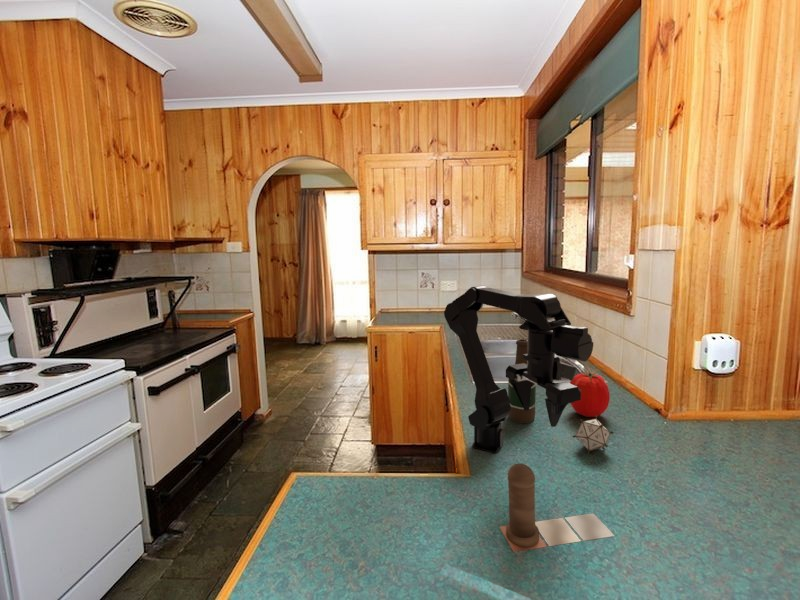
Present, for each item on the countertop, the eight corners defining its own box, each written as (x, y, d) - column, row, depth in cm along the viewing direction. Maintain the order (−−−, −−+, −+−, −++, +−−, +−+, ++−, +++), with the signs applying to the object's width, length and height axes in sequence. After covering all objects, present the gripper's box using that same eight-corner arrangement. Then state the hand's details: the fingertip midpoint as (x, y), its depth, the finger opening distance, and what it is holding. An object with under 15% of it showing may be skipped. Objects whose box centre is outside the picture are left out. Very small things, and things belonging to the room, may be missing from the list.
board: (512, 567, 66) (513, 561, 66) (490, 525, 76) (490, 520, 76) (627, 549, 69) (628, 543, 69) (591, 511, 79) (591, 505, 79)
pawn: (499, 534, 72) (497, 464, 70) (519, 520, 75) (518, 453, 74) (525, 552, 67) (523, 477, 66) (545, 537, 71) (544, 466, 69)
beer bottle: (535, 414, 122) (536, 337, 119) (534, 425, 115) (536, 344, 112) (508, 411, 125) (509, 336, 122) (506, 422, 118) (507, 342, 114)
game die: (599, 465, 101) (621, 447, 94) (566, 452, 102) (585, 433, 95) (598, 435, 107) (619, 416, 100) (567, 422, 108) (585, 403, 101)
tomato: (610, 411, 123) (612, 369, 121) (606, 427, 113) (608, 382, 111) (570, 403, 129) (571, 364, 127) (562, 418, 119) (564, 375, 117)
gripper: (603, 357, 83) (600, 428, 85) (542, 338, 100) (541, 397, 102) (559, 364, 79) (557, 439, 81) (504, 343, 96) (504, 404, 99)
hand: (539, 417), depth 91 cm, fingers open, 9 cm apart
